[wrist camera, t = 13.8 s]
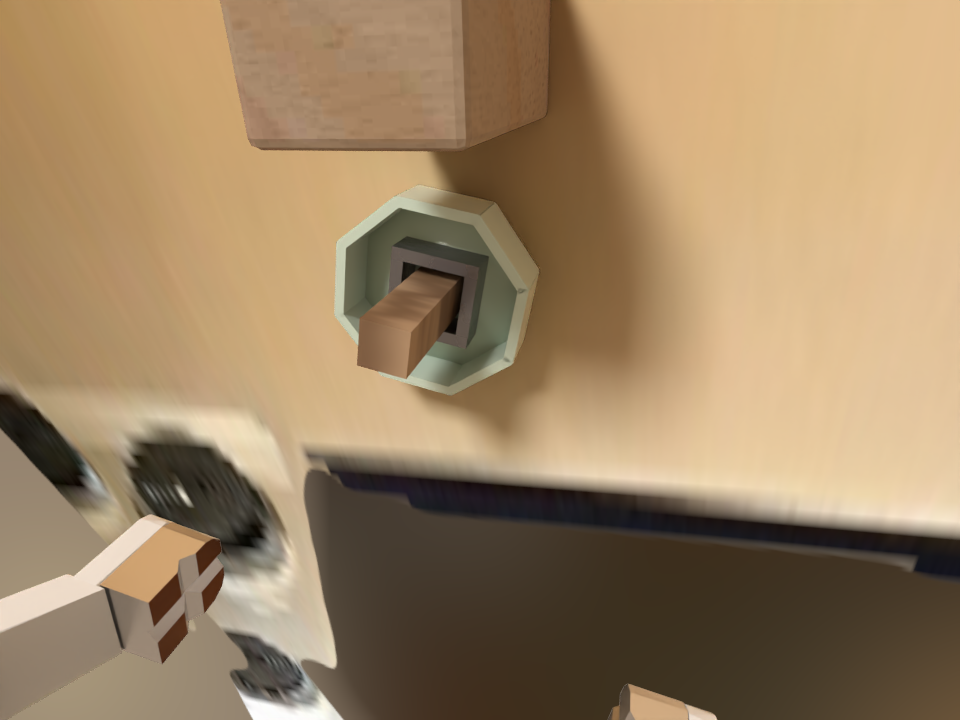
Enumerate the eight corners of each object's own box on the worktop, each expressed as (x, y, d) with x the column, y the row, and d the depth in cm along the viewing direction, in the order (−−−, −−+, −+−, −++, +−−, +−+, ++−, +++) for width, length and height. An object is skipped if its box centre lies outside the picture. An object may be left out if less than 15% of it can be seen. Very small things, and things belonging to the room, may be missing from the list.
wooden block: (548, 118, 38) (468, 152, 21) (414, 119, 41) (245, 151, 23) (553, -59, 34) (458, -200, 16) (402, -46, 36) (182, -157, 19)
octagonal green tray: (552, 214, 41) (542, 229, 37) (514, 383, 48) (502, 410, 45) (366, 172, 43) (338, 182, 39) (357, 339, 51) (333, 361, 47)
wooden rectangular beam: (465, 272, 44) (411, 332, 34) (459, 311, 46) (406, 379, 36) (424, 262, 45) (359, 318, 35) (420, 301, 47) (357, 365, 36)
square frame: (489, 256, 43) (479, 267, 41) (475, 334, 47) (465, 348, 44) (406, 236, 44) (392, 245, 42) (399, 313, 48) (385, 327, 45)
